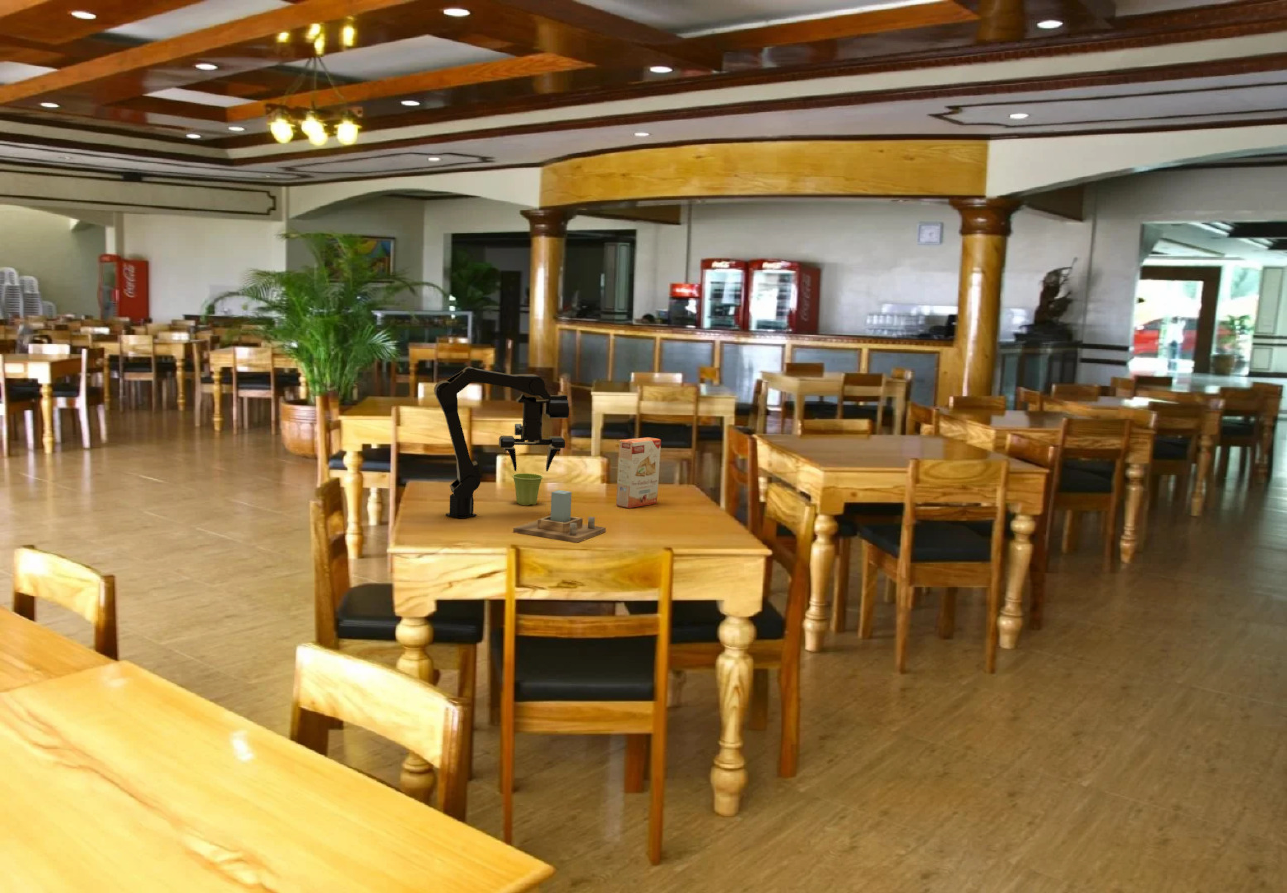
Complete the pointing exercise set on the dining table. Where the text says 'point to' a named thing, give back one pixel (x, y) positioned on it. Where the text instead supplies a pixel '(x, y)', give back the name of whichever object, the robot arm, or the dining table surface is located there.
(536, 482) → the plant pot
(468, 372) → the robot arm
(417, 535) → the dining table surface
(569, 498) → the pale gray block
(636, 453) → the cracker box
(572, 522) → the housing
